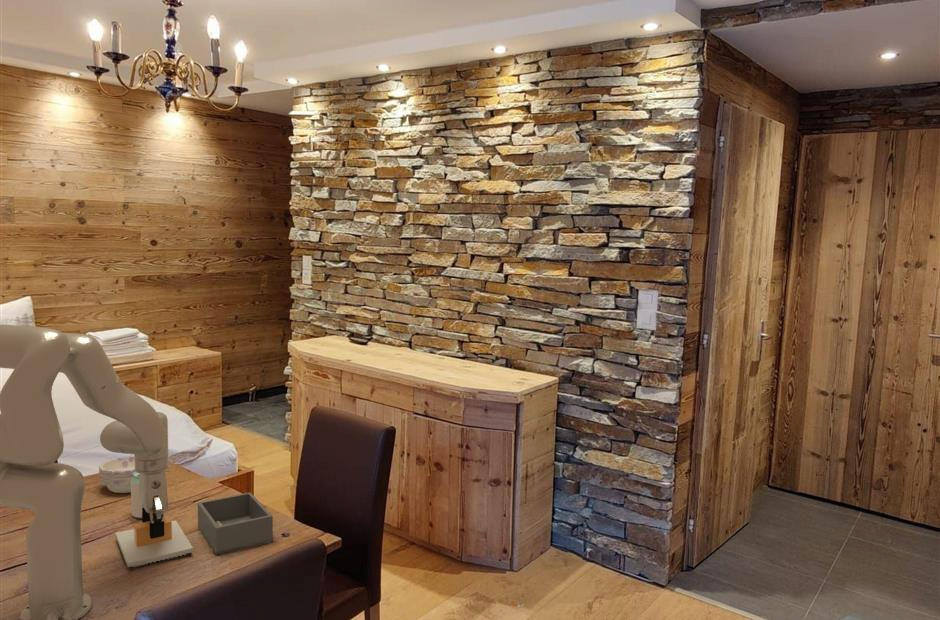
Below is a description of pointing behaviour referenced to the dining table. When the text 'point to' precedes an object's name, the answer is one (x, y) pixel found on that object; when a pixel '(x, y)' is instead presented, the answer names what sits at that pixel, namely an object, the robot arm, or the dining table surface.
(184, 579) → the dining table surface
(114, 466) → the paper bowls
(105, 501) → the dining table surface
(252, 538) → the parts tub
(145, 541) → the lid
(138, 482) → the can
